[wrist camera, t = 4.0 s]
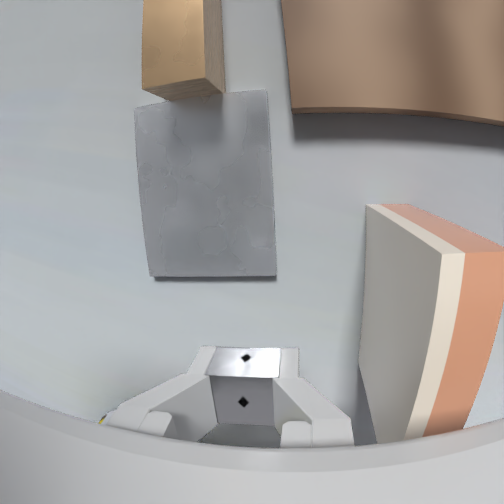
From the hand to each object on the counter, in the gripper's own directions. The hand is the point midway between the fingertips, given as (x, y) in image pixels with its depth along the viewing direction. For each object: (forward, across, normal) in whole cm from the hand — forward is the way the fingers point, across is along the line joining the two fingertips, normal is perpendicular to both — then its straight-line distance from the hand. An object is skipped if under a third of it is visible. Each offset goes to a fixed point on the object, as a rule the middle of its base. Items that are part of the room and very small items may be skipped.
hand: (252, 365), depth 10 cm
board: (+6, -8, -19) cm, 22 cm away
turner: (+6, +3, -11) cm, 13 cm away
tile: (+6, -6, 0) cm, 8 cm away
